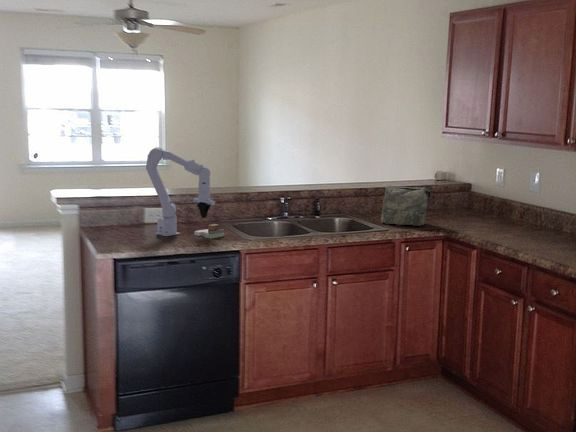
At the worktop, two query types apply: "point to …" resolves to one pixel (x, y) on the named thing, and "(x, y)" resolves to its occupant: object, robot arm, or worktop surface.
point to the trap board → (212, 233)
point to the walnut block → (213, 227)
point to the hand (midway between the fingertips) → (203, 217)
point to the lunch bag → (405, 205)
